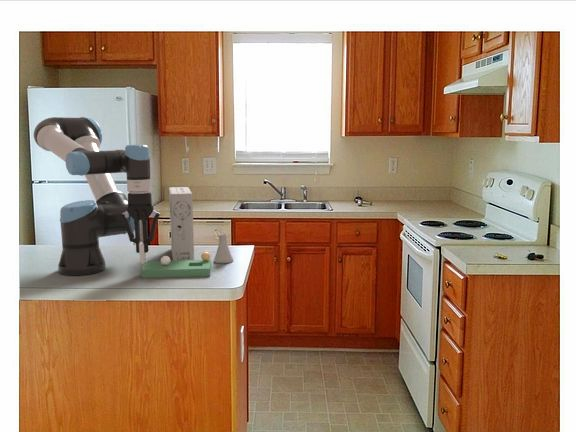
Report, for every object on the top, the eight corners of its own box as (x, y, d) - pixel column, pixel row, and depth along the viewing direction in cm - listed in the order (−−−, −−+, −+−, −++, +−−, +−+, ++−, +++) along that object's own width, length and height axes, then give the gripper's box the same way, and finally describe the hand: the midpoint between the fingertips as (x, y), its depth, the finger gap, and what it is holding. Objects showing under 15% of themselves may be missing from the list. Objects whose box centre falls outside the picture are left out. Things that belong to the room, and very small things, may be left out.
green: (141, 277, 172) (141, 270, 171) (147, 268, 183) (147, 261, 183) (209, 275, 174) (209, 268, 173) (211, 266, 186) (211, 259, 185)
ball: (160, 266, 176) (159, 257, 176) (161, 264, 179) (161, 254, 179) (170, 266, 176) (169, 256, 176) (171, 263, 180) (170, 254, 179)
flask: (209, 262, 191) (209, 235, 189) (219, 258, 197) (218, 232, 196) (227, 264, 188) (227, 237, 187) (236, 259, 195) (236, 233, 193)
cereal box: (194, 260, 194) (192, 193, 190) (173, 262, 192) (170, 193, 188) (190, 248, 214) (188, 186, 210) (171, 249, 213) (169, 187, 208)
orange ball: (201, 262, 182) (200, 253, 181) (201, 259, 185) (201, 250, 184) (210, 261, 182) (210, 252, 182) (210, 259, 185) (210, 250, 185)
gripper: (116, 193, 169) (120, 265, 172) (157, 193, 170) (161, 264, 174) (121, 191, 176) (125, 259, 180) (161, 190, 177) (164, 258, 181)
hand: (143, 262), depth 177 cm, fingers closed
